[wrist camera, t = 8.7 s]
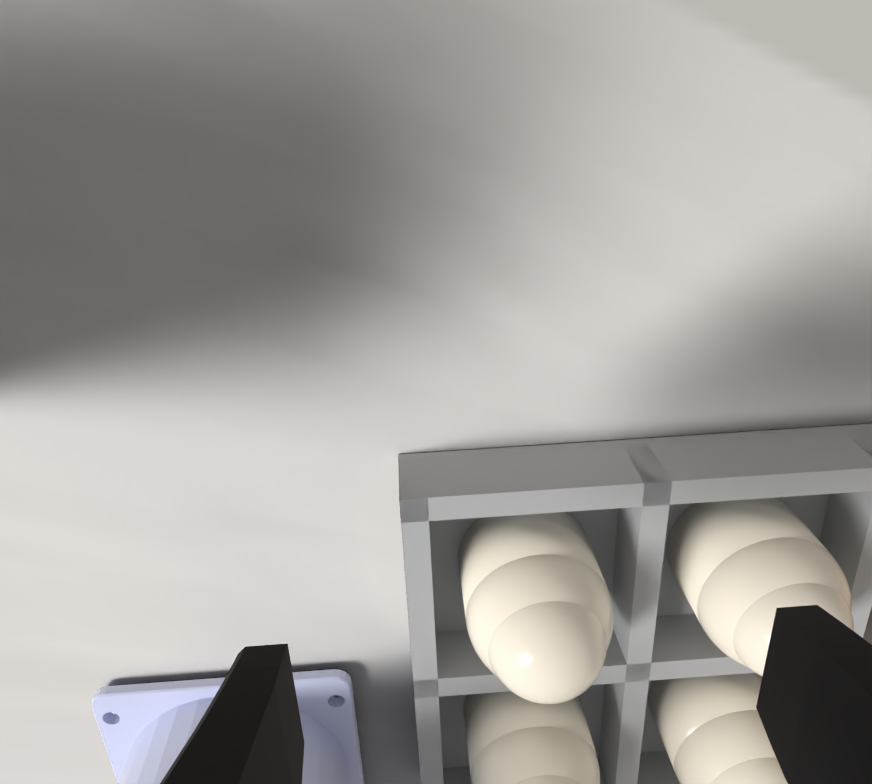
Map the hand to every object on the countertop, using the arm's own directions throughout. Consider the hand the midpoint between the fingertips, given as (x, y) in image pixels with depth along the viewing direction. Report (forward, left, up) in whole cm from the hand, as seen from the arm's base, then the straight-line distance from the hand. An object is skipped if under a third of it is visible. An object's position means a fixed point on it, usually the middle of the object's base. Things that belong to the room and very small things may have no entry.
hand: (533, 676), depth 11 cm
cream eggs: (-8, -8, -9) cm, 14 cm away
